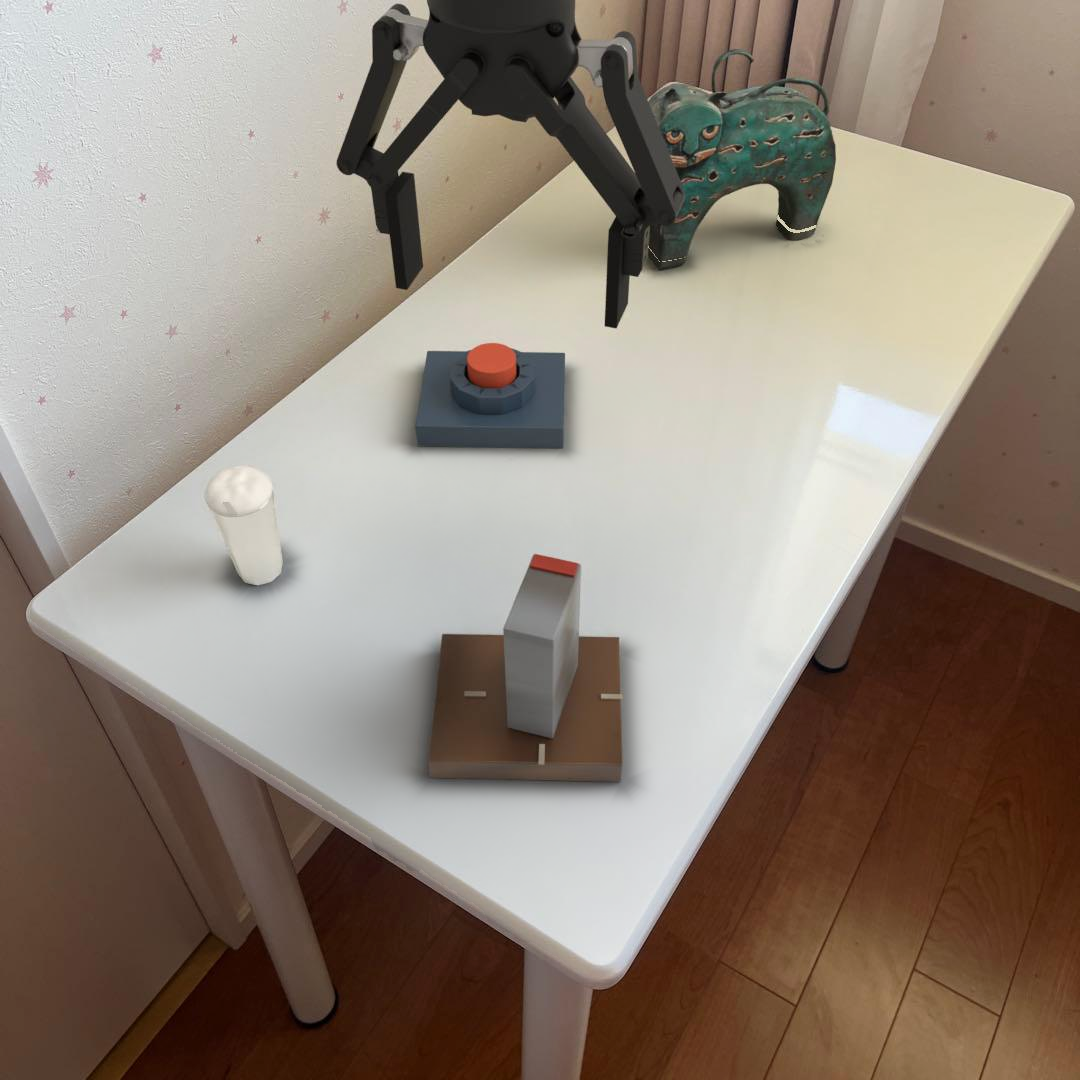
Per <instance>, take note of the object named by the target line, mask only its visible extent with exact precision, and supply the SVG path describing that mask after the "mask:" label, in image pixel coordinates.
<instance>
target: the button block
mask: <svg viewBox="0 0 1080 1080" xmlns="http://www.w3.org/2000/svg"><path fill="white" fill-rule="evenodd" d="M510 348H511V349H512V350H513V351H514V353H515V355H516V378H515V380H514V381H513V382H512V383H511V384H510V385H507V386H504V387H501V388H498V389H491V388H481V387H478V386H476V385H474V384H473V383H472V382H471V381H470V380H469V378H468V366H467V356H468V354H469V352H470V351H471V350H472V349H469V350H465V351H464V350H427V351H426V357H425V362H424V370H423V374H422V381H421V388H420V389H421V390H420V395H419V401H418V407H417V414H416V420H415V435H416V445H417V446H418V447H453V448H454V447H455V448H456V447H460V448H461V447H462V448H464V447H465V448H468V447H469V448H519V449H520V448H524V449H525V448H526V449H530V448H531V449H564V448H565V447H564V446H565V444H564V441H565V440H564V439H565V391H566V390H565V389H566V388H565V387H566V386H565V384H566V383H565V382H566V353H565V352H550V351H549V352H545V351H544V352H543V351H541V352H540V351H539V352H538V351H532V352H531V351H520V350H517V349H515V348H512V347H510Z"/></svg>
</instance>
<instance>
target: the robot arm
mask: <svg viewBox="0 0 1080 1080" xmlns="http://www.w3.org/2000/svg"><path fill="white" fill-rule="evenodd" d="M426 4H427V7H428V10H429V11H428V13H429V15H428V19H424V18H420V17H417V16H412V15H411V12H410V10H409V9H408V7H407V6H406V5H405V4H402V3H395V4H393V5H392V6H391V7H390V8H389V9H387V11H386V12H385V13H384V14H383V15H382V16H380V17H379V18H378V19H377V20H376V21H375V22H374V24H373V25H372V29H371V48H372V49H371V51H372V52H371V53H372V55H371V57H372V62H371V64H370V66H369V70H368V72H367V76H366V79H365V81H364V83H363V86H362V89H361V92H360V96H359V98H358V100H357V103H356V105H355V108H354V111H353V114H352V117H351V120H350V122H349V125H348V128H347V131H346V134H345V136H344V139H343V142H342V145H341V148H340V150H339V153H338V156H337V158H336V163H335V164H336V167H337V169H338V171H339V172H340V173H341V174H342V175H344V176H352V175H356V176H357V177H361V179H363V180H365V181H366V183H367V185H368V187H370V190H371V191H370V192H371V197H372V198H371V199H372V204H373V212H374V221H375V226H376V228H377V231H378V232H379V234H385V235H389V241H390V249H391V258H392V259H391V260H392V266H393V274H394V282H395V288H396V289H400V290H405V291H408V290H409V288H410V287H411V286H412V284H413V282H414V281H415V280H416V279H417V277H418V275H419V274H420V273H421V272H422V269H424V262H423V261H424V260H423V252H422V251H423V250H422V240H421V231H420V230H421V229H420V221H419V220H420V219H419V212H418V211H419V209H418V200H417V190H416V181H415V180H416V179H415V173H413V172H408V171H401V173H400V174H399V170H400V169H401V168H402V167H403V166H404V165H405V164H406V162H407V160H409V158H411V156H412V155H413V153H414V152H415V151H416V150H417V149H418V148H419V147H420V146H421V145H422V143H423V142H424V141H425V140H426V138H427V137H428V136H429V135H430V134H431V133H432V131H434V129H435V128H436V127H437V125H438V124H439V123H440V122H441V121H442V120H443V118H444V117H445V116H446V115H447V114H448V113H449V111H450V110H451V109H452V108H453V107H454V105H456V103H457V102H458V101H459V102H460V103H461V104H462V105H463V106H464V107H465V108H467V109H469V110H471V115H473V116H479V117H491V116H501V117H502V118H506V119H508V120H510V121H514V122H521V123H527V121H528V120H529V119H532V118H535V119H536V120H537V122H538V123H539V124H540V126H541V127H542V128H543V129H544V131H545V132H546V134H547V135H549V136H550V137H553V138H556V139H557V141H559V143H560V144H561V145H562V147H563V148H564V149H565V151H566V152H567V154H568V156H569V157H571V159H572V160H573V162H574V163H575V164H576V165H577V167H578V168H579V169H580V171H581V172H582V173H583V175H584V176H585V177H586V178H587V180H588V181H589V182H590V184H591V186H592V187H593V188H594V189H595V191H596V192H597V193H598V195H599V196H600V197H601V198H602V200H603V201H604V202H605V203H606V205H607V206H608V208H609V209H610V210H611V212H612V213H613V214H614V216H615V217H614V219H613V221H612V222H611V225H610V227H609V228H608V234H607V235H608V236H607V254H606V257H607V258H606V261H607V262H606V283H605V301H604V302H605V303H604V308H605V309H604V310H605V311H604V327H606V328H610V329H618V326H619V324H620V322H621V320H622V318H623V316H624V313H625V312H626V309H627V307H628V304H629V294H630V280H631V279H630V278H631V277H634V278H635V277H636V278H639V276H640V274H641V272H642V271H643V268H644V267H645V265H646V262H647V260H648V258H649V255H648V246H649V233H650V225H653V224H658V223H659V224H660V225H662V226H670V225H672V224H673V223H674V222H675V220H676V218H677V215H678V213H679V211H680V209H681V206H682V204H683V202H684V200H685V196H686V195H685V191H684V188H683V186H682V184H681V181H680V179H679V176H678V174H677V171H676V169H675V166H674V164H673V161H672V159H671V156H670V154H669V152H668V149H667V147H666V144H665V142H664V139H663V137H662V134H661V132H660V129H659V127H658V124H657V122H656V120H655V117H654V115H653V112H652V110H651V107H650V105H649V102H648V101H649V99H648V98H647V95H646V92H645V89H644V88H643V86H642V83H641V79H640V78H639V76H638V75H639V74H638V73H639V72H638V55H637V42H636V38H635V36H634V35H633V34H632V33H631V32H629V31H626V30H621V31H618V32H617V33H616V34H615V35H614V37H613V38H612V39H582V37H581V35H580V33H579V30H578V27H577V24H576V0H426ZM420 47H423V48H424V51H425V53H426V54H427V56H428V57H429V59H430V60H431V62H432V63H433V65H434V66H435V68H436V69H437V71H438V72H439V73H440V76H441V77H443V80H442V81H441V82H440V84H438V86H437V87H436V89H434V91H433V92H432V94H431V95H430V96H429V97H428V98H427V99H426V101H425V102H424V103H423V105H422V106H421V107H420V108H419V110H418V111H417V112H416V113H415V114H414V116H413V117H412V118H411V119H410V120H409V122H407V124H406V125H405V127H404V128H403V129H402V130H401V131H400V133H399V134H398V135H397V136H396V137H395V139H394V140H393V141H392V142H391V144H390V145H389V146H388V148H387V149H386V150H385V151H384V152H382V151H380V150H378V149H377V148H375V144H376V142H377V139H378V137H379V135H380V132H381V129H382V128H383V127H382V126H383V124H384V122H385V119H386V117H387V114H388V111H389V109H390V106H391V105H392V104H391V103H392V101H393V98H394V96H395V93H396V91H397V88H398V86H399V83H400V80H401V78H402V75H403V73H404V70H405V68H406V66H407V62H408V61H409V60H410V59H412V58H413V56H414V55H416V53H417V52H418V51H419V49H420ZM578 67H581V68H583V69H585V70H586V71H588V73H589V75H590V78H591V80H592V83H593V85H594V87H596V88H602V92H603V97H604V102H605V105H606V107H607V111H608V113H609V115H610V118H611V119H612V123H613V126H614V127H615V130H616V132H617V134H618V136H619V139H620V141H621V143H622V145H623V148H624V150H625V153H626V155H627V157H628V160H629V162H630V164H629V162H627V159H626V158H625V157H624V156H623V154H622V153H621V152H620V150H619V149H618V148H617V146H616V145H615V144H614V142H613V141H612V139H611V138H610V137H609V135H608V134H607V132H606V131H605V130H604V128H603V127H602V125H601V124H600V123H599V122H598V120H597V119H596V117H595V116H594V115H593V113H592V112H591V110H590V109H589V107H588V106H587V104H586V98H585V95H584V93H583V92H582V91H581V89H580V88H579V87H578V85H577V83H576V82H575V81H574V80H573V78H572V75H573V74H574V73H575V72H576V70H577V68H578ZM554 98H555V99H554ZM555 100H556V101H555Z"/></svg>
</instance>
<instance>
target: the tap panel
mask: <svg viewBox="0 0 1080 1080" xmlns="http://www.w3.org/2000/svg"><path fill="white" fill-rule="evenodd" d="M620 647H621V646H620V637H618V636H584V635H583V636H582V635H581V636H580V635H579V645H578V666H577V669H576V672H575V675H574V678H573V681H572V684H571V687H570V690H569V693H568V696H567V699H566V701H565V704H564V707H563V710H562V713H561V716H560V719H559V722H558V725H557V728H556V731H555V734H554V737H553V738H548V737H544V736H540V735H536V734H532V733H528V732H524V731H520V730H516V729H512V728H508V725H507V702H506V679H505V657H504V634H479V633H478V634H477V633H475V634H474V633H442V634H441V641H440V648H439V658H438V665H437V666H438V668H437V676H436V686H435V694H434V704H433V712H432V721H431V730H430V738H429V748H428V757H427V763H428V770H429V777H430V778H433V779H477V780H478V779H479V780H480V779H481V780H521V781H523V780H524V781H566V782H567V781H570V782H612V783H613V782H616V783H617V782H618V783H621V782H622V778H623V767H624V758H623V757H624V756H623V725H622V723H623V721H622V701H623V700H624V696H623V695H624V694H623V693H622V689H621V688H622V687H621V686H622V685H621V684H622V683H621V653H620V651H621V650H620Z"/></svg>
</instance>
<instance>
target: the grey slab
mask: <svg viewBox="0 0 1080 1080" xmlns="http://www.w3.org/2000/svg"><path fill="white" fill-rule="evenodd" d="M581 587H582V564H581V563H578V562H575V561H571V560H566V559H562V558H561V559H560V558H556V557H552V556H548V555H542V554H538V553H534V554H533V555H532V557H531V559H530V562H529V564H528V567H527V570H526V571H525V574H524V576H523V579H522V581H521V584H520V586H519V589H518V592H517V594H516V596H515V599H514V600H513V603H512V606H511V608H510V610H509V613H508V615H507V618H506V620H505V623H504V625H503V628H502V630H503V634H502V635H504V657H505V679H506V702H507V725H508V728H512V729H516V730H520V731H524V732H528V733H532V734H536V735H540V736H544V737H548V738H553V737H554V734H555V731H556V728H557V725H558V722H559V719H560V716H561V713H562V710H563V707H564V704H565V701H566V699H567V696H568V693H569V690H570V687H571V684H572V681H573V678H574V675H575V672H576V669H577V666H578V645H579V636H580V619H581V618H580V615H581V591H582V589H581Z"/></svg>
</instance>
